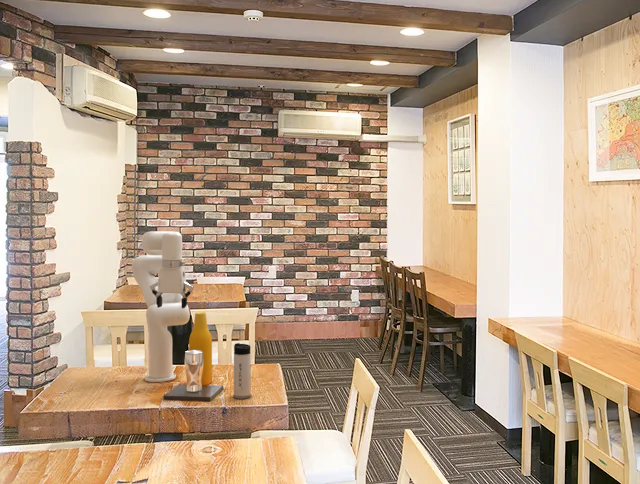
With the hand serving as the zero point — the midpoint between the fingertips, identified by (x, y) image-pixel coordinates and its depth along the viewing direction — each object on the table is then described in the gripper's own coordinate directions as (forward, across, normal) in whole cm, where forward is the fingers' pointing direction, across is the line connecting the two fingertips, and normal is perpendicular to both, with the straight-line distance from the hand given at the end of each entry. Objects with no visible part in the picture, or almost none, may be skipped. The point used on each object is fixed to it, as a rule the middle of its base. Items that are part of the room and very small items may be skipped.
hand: (171, 307), depth 251 cm
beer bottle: (+33, -9, -9) cm, 35 cm away
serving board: (+32, -12, +7) cm, 35 cm away
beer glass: (+31, -11, +7) cm, 34 cm away
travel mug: (+32, -30, +8) cm, 45 cm away
